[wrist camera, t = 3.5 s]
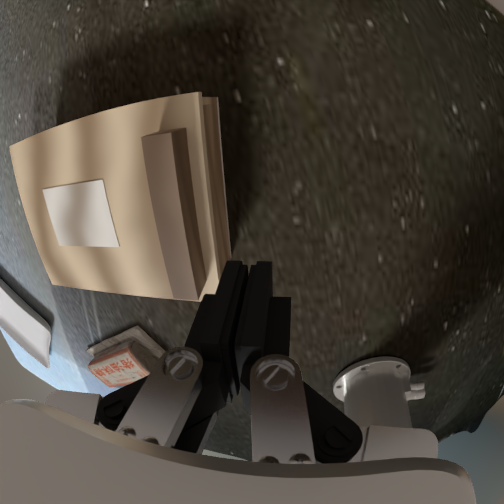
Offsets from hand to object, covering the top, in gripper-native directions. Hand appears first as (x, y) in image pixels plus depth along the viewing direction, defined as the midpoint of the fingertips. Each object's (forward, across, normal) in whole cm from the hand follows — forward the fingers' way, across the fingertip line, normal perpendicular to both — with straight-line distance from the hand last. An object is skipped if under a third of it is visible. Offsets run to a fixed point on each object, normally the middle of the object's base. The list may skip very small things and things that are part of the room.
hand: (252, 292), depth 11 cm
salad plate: (+17, +56, +27) cm, 64 cm away
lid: (+10, +15, +1) cm, 18 cm away
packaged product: (+17, +25, +30) cm, 42 cm away
